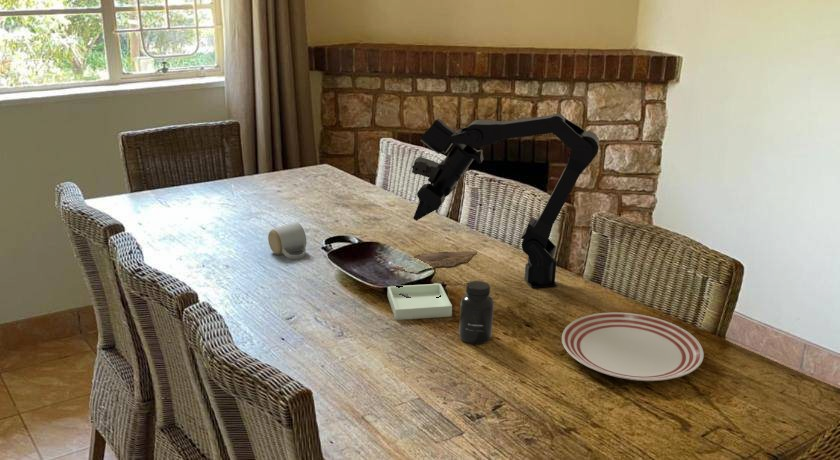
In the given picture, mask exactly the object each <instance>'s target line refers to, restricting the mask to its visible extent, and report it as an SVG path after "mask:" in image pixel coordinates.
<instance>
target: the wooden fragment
mask: <svg viewBox="0 0 840 460" xmlns="http://www.w3.org/2000/svg"><path fill="white" fill-rule="evenodd" d="M477 254H478V251H477V250H471V251H442V252H440V251H438V252H430V253H429V252H428V253H427V252H426V253H421V254H416V255H415V256H413V257H414V258H417V259H419V260H421V261H423V262H424V263H427V264H429V265H430V266H432V267H433V268H434V269H436V268H437V269H438V268H441V267H443V268H447V267H454V266H457V265H459V264H460V265H461V264H466V263H468V262H469V261H471V259H472V258H473V256H475V255H477ZM397 265H398V264H396V265H394V266H392V269H394V270H397V271H399V270H400V272H403V271H405V269H403V267H399V266H397Z"/></svg>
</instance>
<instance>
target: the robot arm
mask: <svg viewBox="0 0 840 460" xmlns="http://www.w3.org/2000/svg"><path fill="white" fill-rule="evenodd" d="M434 120H435V121H434V122H433V123H432V124H431V125H430V127H429V128H428V129H427V130H426V131H424V133H423V135H422V136H421V138H420V139H419V140H420V142H421V143H423V144H425V146H427V147H428V148H430V149H431V150H432V151H434V152H435V153H436V154H438V155H440V154H442V153H443V154H446V153H447V152H448V151H449V152H448V153H447V155H446V157H445V158H444V159H443V160H441V161H440V163H439V162H437V161H436V160H435V161H434V160H431V159H428V158H425V157H422V156H417V158H416V159H414V161H413V165H412V166H411V169H412V170H411V173H412V174H414V175H419V176H422V177H426V178H428V179H427V181H428V182H429V183H423V185H422V186H421V187H420V188H419V190H418V191H417V192H416V197H417V198H418V200H419V202H418V205H417V207H416V210H415V213H414V214H413V219H414V221H419V220H420V219H422V218H424V217H427V215H429V214H432V213H433V212H434V211H437V210H438V209H439V208H440V207H441V206H442V205H443V203H444V202H445V200H446V197H448V196H449V195H450V194H451V193H452V192H453V191H454V190H455V188H456V186H457V185H458V184H459V183H458V182H459V180H460V179H461V178H462V177H463V175H464V174H465V172H466V171H467V169H468V168H469V167H470V165H471V164H472V163H473V161H475V162H476V163H478V164H481V163H482V162H483V160H484V155H483V149H481V148H483V147H484V148H485V147H487V146H491V145H492V144H495V143H498V142H500V141H503V140H509V139H510V140H511V139H515V138H516V139H517V138H523V137H524V138H525V137H532V136H540V135H547V134H553V135H555V136H556V137H557V138H558V139H559V140H560V141H561V142H562V143H563V144H564V145H565V146H566V147H567V148H568V149H570V153H569V157H568V159H567V163H566V166H565V167H564V170H563V171H562V174H561V175H560V177H559V179H558V181H557V183H556V184H555V187H554V189H553V191H552V193H551V195H550V196H549V198H548V200H547V202H546V204H545V206H544V208H543V210H542V212H541V213H540V214H539V216H538V217H537V218H536V219H535V218H534V217H533V216H531V217H530V218H529V221H528V224H527V227H525V228H524V229H523V232H522V235H521V237H520V239H521V240H522V241H521V249H522V251H523V253H524V254H526V255H527V263H526V264H525V268H524V277H523V278H524V280H525V281H526V282H527V284H528V285H529V286H530V287H531V288H533V289H539V288H554V287H555V288H556V287H558V282H556V270H557V260H556V258H555V253H556V251H557V246H556V245H555V243H553V241H552V240H551V239H550V236H551V232H552V229H553V226H554V224H555V221H556V220H557V218H558V217H559V214H560V212H561V210H562V209H563V207H564V205H565V203H566V201H568V200H567V199H568V197H569V195H570V194H571V192H572V190H573V188H574V187H575V185H576V183H577V181H578V179H579V177H580V175H581V174H582V173H583V172H584V171H585V170H586V169H587V167H589V165H591V163H592V162H593V160H594V159H595V158H596V157H597V156H598V152H599V147H600V143H601V142H600V138H599V137H598V135H597V134H596V133H594V132H593V131H590V130H585V129H583V128H582V127H581V126H579V125H578V124H576V123H574V122H572V121H571V120H569V119H567V118H566V117H565V116H564V115H563V114H562V113H558V112H557V113H553V114H549V115H541V116H537V117H529V118H527V117H526V118H522V119H514V120H507V121H505V120H503V121H500V120H493V119H475V120H473V121H472V122H471V123H470V124H469V125H468V126H467V127H463V128H459V129H457V130H456V131H455V130H454V129H452V128H451V127H449V126H448V125H447V124H445V123H444V121H443V120H442V119H440V118H436V119H434ZM452 145H454V146H453V147H452ZM451 147H452V148H451ZM450 148H451V150H450ZM479 148H480V149H479Z"/></svg>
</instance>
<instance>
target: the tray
mask: <svg viewBox="0 0 840 460" xmlns="http://www.w3.org/2000/svg"><path fill="white" fill-rule="evenodd" d="M402 286H403V287H400V288H398V287H396V286H395V285H393V286H387V298H388V301H389V302H388V303H389V305H390V309H391V311H392V314H393V316H394V319H395V321H401V320H402V321H403V320H418V319H432V318H433V319H435V318H447V317H448V318H449V317H453V304H452V303H451V301H450V299H449V297H448V295H447V293H446V291H445V289H444V288H443V286H442V284H441V283H430V284H427V283H426V284H413V285H412V284H409V285H402ZM400 293H406V294H408V296H409V297H411V298H406V297H404V296H402V295H399V294H400ZM440 295H441V297H439V296H440ZM436 297H439V298H436Z"/></svg>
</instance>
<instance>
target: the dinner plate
mask: <svg viewBox="0 0 840 460" xmlns="http://www.w3.org/2000/svg"><path fill="white" fill-rule="evenodd" d="M561 343H562V346H563V347H564V349H565V351H566V352H567V353H568V355H570V356H571V357H572V358H573V359H574V360H575V361H577V362H579V364H581V365H583V366H585V367H587V368H589V369H591V370H594V371H596V372H598V373H601V374H605V375H607V376H611V377H615V378H619V379H625V380H630V381H638V382H639V381H640V382H642V381H643V382H654V381H656V382H658V381H660V382H661V381H667V380H673V379H676V378H681V377H684V376H687V375H689V374H690V373H692V372H694V371H696V370H697V369H698V368H699V367H700V366H701V364H702V363H703V361H704V355H705V353H704V349H703V347H702V345H701V343H700V342H699V340H698V339H697V338H696V337H695V336H694V335H693V334H691V333H690V332H689V331H687V330H686V329H683V328H682V327H681V326H678V325H676V324H674V323H671V322H670V321H667V320H664V319H661V318H657V317H653V316H649V315H644V314H640V313H639V314H638V313H630V312H600V313H594V314H589V315H584V316H582V317H580V318H577V319H575V320H573V321H571V322H570V323H569V324H568V325H566V327H565V328H564V329H563V331H562V335H561Z"/></svg>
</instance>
